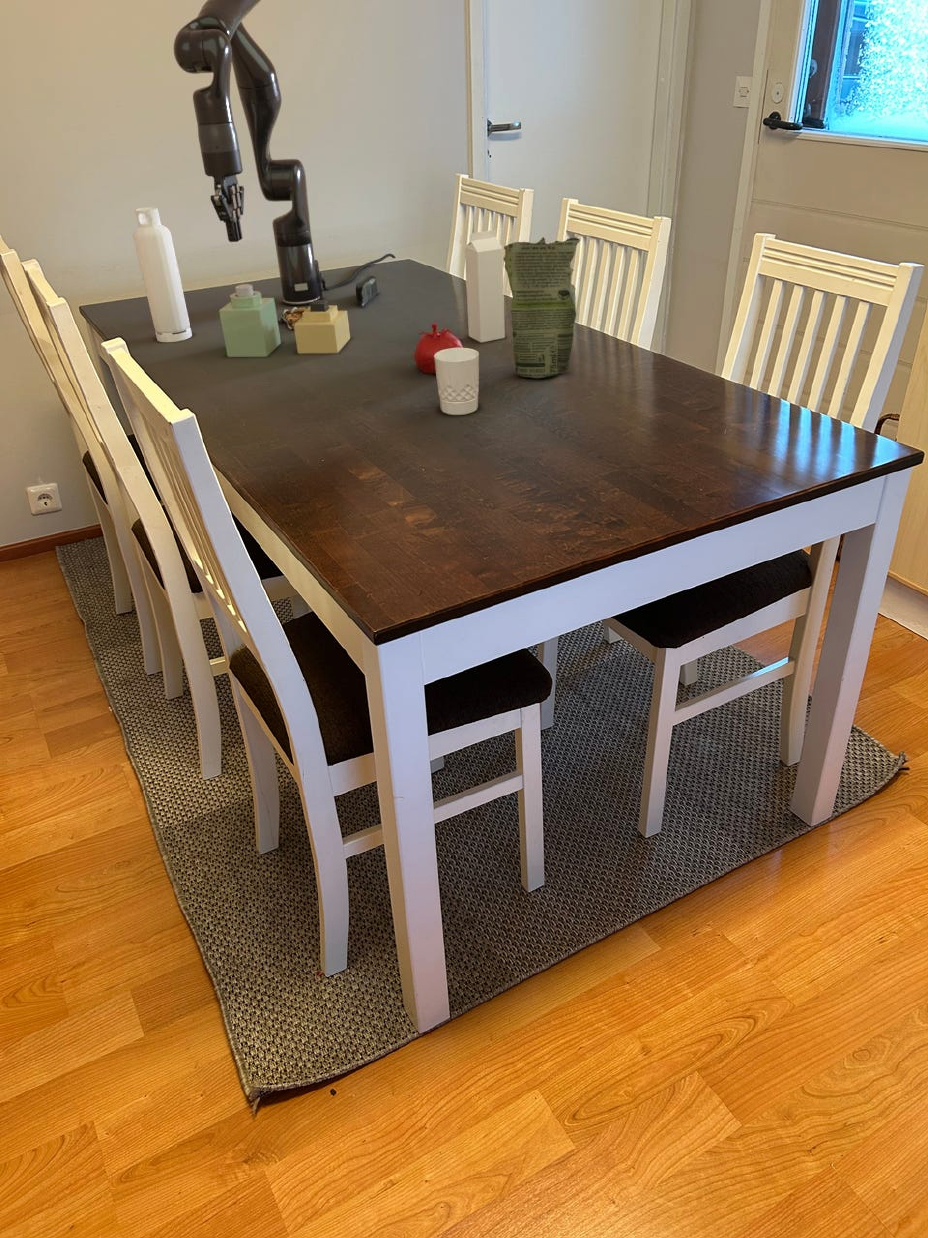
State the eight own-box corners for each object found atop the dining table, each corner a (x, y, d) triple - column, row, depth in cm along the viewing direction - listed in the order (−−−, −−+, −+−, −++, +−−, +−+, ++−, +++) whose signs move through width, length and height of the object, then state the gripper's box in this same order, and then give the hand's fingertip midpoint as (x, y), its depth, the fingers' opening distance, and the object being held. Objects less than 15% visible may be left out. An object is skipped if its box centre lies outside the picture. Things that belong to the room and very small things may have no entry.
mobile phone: (365, 274, 243) (351, 286, 230) (377, 273, 242) (363, 286, 230) (367, 293, 245) (354, 307, 233) (378, 293, 245) (365, 307, 232)
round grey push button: (240, 294, 202) (238, 284, 201) (256, 294, 202) (254, 283, 201) (234, 298, 199) (232, 288, 198) (250, 298, 199) (248, 287, 198)
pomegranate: (473, 367, 189) (471, 320, 184) (439, 380, 183) (436, 333, 178) (439, 358, 195) (436, 313, 190) (404, 371, 189) (400, 325, 184)
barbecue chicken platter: (294, 332, 217) (292, 316, 215) (277, 321, 226) (275, 306, 224) (322, 327, 220) (320, 311, 218) (304, 316, 229) (302, 301, 227)
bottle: (196, 331, 222) (170, 204, 207) (185, 341, 215) (157, 211, 200) (164, 332, 223) (136, 206, 208) (151, 342, 216) (121, 212, 201)
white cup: (449, 419, 165) (446, 364, 160) (430, 406, 171) (426, 352, 165) (488, 410, 168) (486, 355, 162) (468, 398, 174) (465, 344, 168)
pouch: (501, 374, 184) (497, 240, 171) (539, 358, 192) (538, 229, 178) (545, 384, 178) (545, 246, 164) (583, 368, 185) (585, 234, 171)
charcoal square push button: (314, 309, 204) (313, 299, 203) (329, 308, 204) (327, 299, 203) (310, 313, 202) (309, 303, 201) (325, 312, 201) (323, 303, 200)
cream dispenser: (312, 338, 212) (307, 302, 208) (350, 338, 211) (346, 302, 206) (297, 353, 203) (292, 316, 199) (337, 353, 202) (333, 315, 197)
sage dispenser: (243, 343, 212) (233, 288, 205) (281, 343, 210) (272, 288, 204) (227, 356, 204) (216, 300, 197) (266, 356, 202) (257, 300, 196)
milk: (468, 336, 207) (463, 231, 196) (492, 331, 210) (488, 227, 198) (481, 343, 203) (476, 235, 191) (505, 338, 205) (502, 231, 193)
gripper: (225, 151, 179) (241, 247, 188) (249, 143, 190) (263, 233, 200) (188, 153, 180) (206, 247, 189) (214, 144, 191) (230, 234, 201)
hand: (235, 240), depth 194 cm, fingers closed
